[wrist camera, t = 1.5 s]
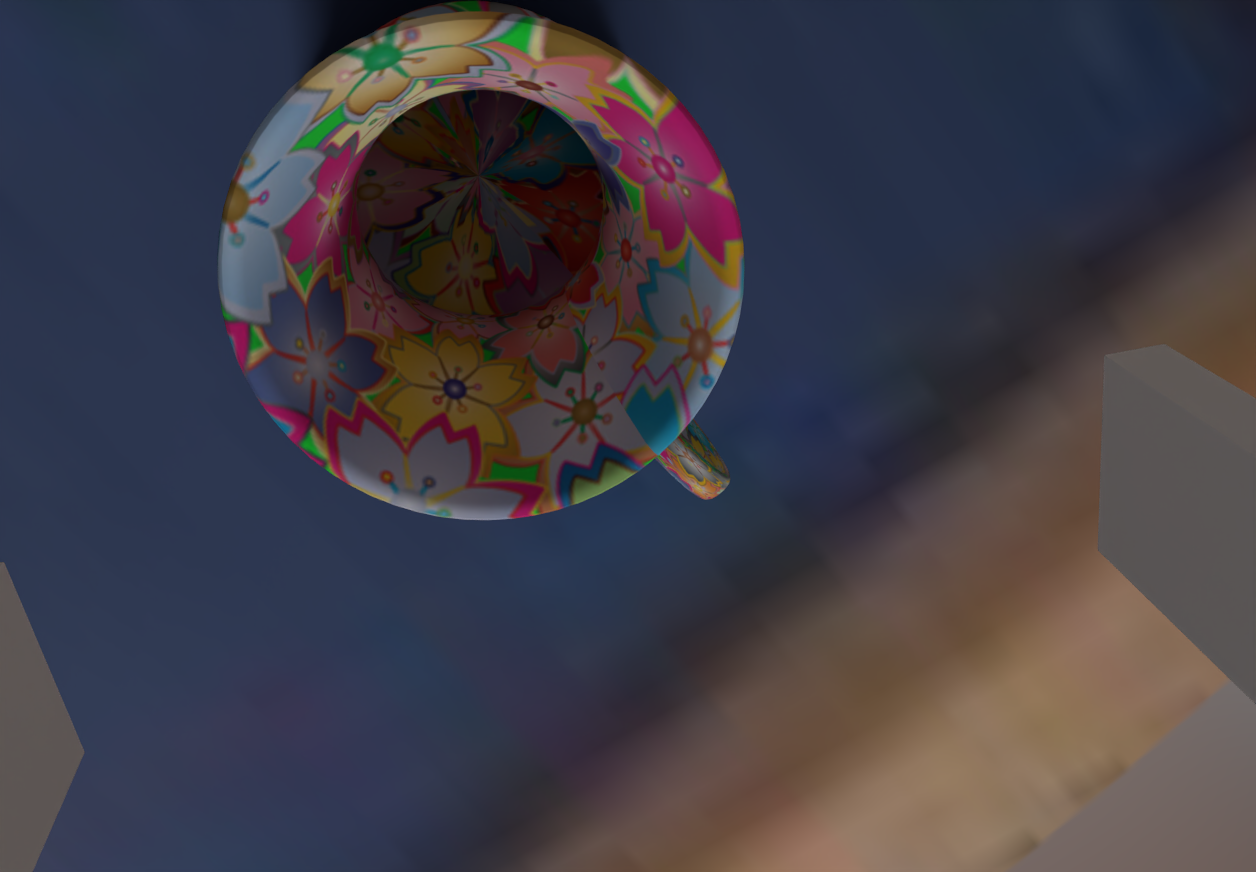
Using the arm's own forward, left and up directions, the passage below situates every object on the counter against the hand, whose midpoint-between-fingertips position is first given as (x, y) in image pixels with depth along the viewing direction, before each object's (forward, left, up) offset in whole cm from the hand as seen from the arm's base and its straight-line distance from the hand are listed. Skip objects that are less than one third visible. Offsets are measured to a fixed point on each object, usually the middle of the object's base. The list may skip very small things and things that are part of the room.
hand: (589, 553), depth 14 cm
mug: (0, 0, -19) cm, 19 cm away
